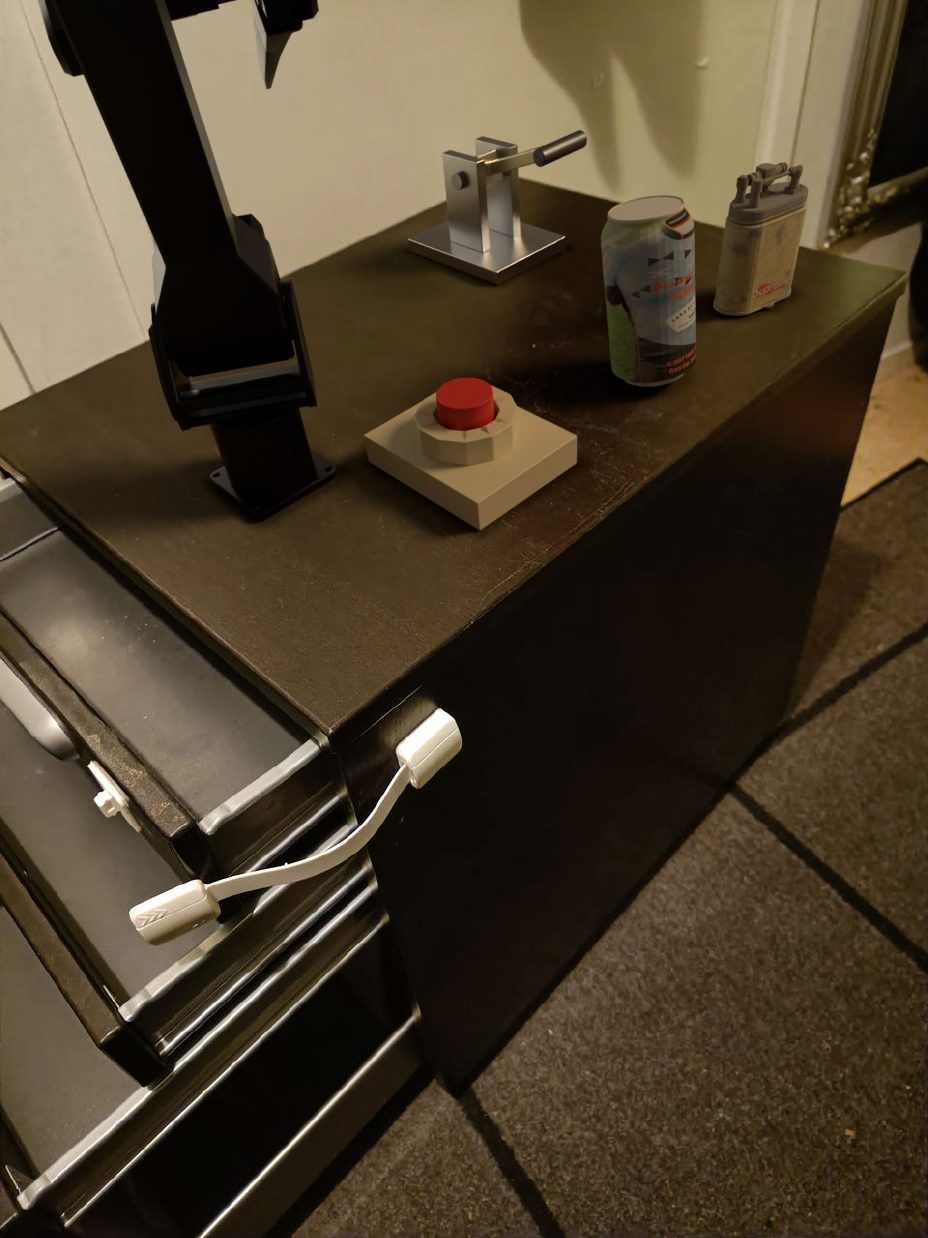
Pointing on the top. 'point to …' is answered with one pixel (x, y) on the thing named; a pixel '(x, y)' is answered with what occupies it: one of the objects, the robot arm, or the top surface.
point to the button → (465, 404)
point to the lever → (531, 156)
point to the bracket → (484, 221)
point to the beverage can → (650, 289)
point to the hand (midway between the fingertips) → (212, 98)
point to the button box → (473, 457)
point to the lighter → (761, 240)
